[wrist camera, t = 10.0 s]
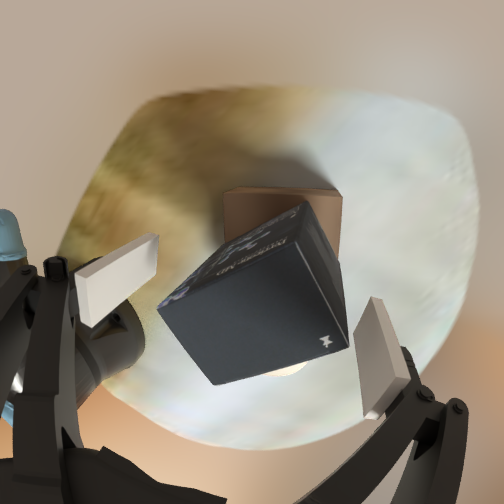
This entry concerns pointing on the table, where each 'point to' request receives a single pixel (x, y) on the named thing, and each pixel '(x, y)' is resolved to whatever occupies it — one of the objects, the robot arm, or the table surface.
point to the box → (262, 301)
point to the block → (280, 209)
